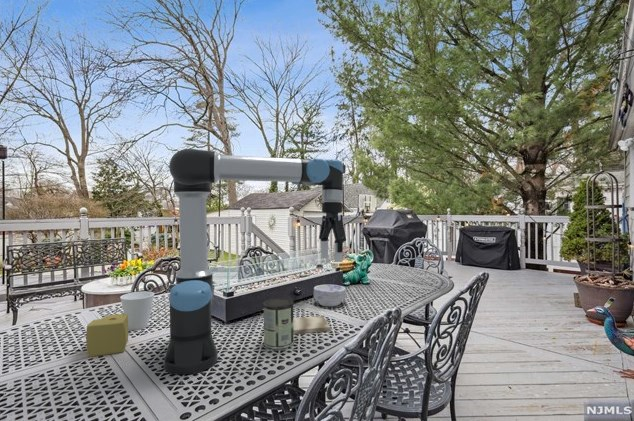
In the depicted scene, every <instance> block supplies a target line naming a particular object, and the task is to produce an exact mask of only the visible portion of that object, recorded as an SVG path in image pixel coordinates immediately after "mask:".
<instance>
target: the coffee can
mask: <svg viewBox="0 0 634 421" xmlns="http://www.w3.org/2000/svg"><path fill="white" fill-rule="evenodd" d="M262 304H263V340H264V341H263V346H264V347H265V348H267V349H272V350H284V349H287V348H290V347H292V346H293V345H294V343H295V341H294V340H295V338H294V335H295V334H294V333H293V331H294V330H293V318H294V304H295V303H294V301H293V299H291V298H284V297H281V298H279V297H278V298H271V299H267V300H265V301H264V302H263V303H262Z"/></svg>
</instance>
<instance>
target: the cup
mask: <svg viewBox="0 0 634 421" xmlns="http://www.w3.org/2000/svg"><path fill="white" fill-rule="evenodd" d="M154 296H155V292H153V291H145V290H144V291H134V292H129V293H125V294H123V295H121V296H120V297H119V298H120V301H121V306H122V310H123V314H128V331H129V330H130V331H138V330H143V329H146V328H148V325H149V321H150V318H151V317H150V316H151V311H152V306H153V302H154Z"/></svg>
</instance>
